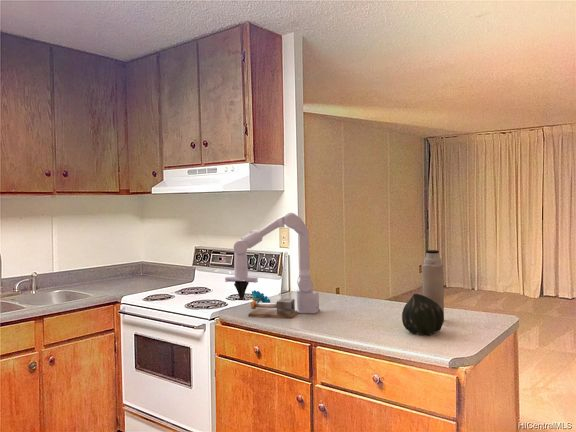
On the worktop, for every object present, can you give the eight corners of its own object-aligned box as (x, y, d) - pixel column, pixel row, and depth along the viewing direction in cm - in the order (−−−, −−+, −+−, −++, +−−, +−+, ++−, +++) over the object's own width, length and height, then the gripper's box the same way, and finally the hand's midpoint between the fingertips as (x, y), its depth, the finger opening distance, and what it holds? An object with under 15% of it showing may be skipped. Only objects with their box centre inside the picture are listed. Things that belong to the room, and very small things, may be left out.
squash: (457, 317, 171) (430, 284, 177) (440, 328, 160) (411, 292, 165) (430, 337, 178) (405, 305, 184) (412, 349, 167) (386, 314, 173)
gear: (275, 302, 222) (260, 289, 218) (268, 312, 219) (254, 299, 215) (261, 301, 230) (248, 289, 227) (255, 311, 228) (241, 299, 224)
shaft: (282, 309, 204) (282, 300, 204) (280, 311, 201) (280, 302, 201) (253, 307, 208) (253, 299, 208) (251, 309, 205) (250, 301, 204)
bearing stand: (297, 313, 205) (297, 298, 205) (292, 318, 197) (291, 302, 197) (255, 311, 211) (255, 297, 211) (248, 316, 202) (247, 301, 202)
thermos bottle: (425, 317, 194) (424, 249, 193) (446, 319, 189) (445, 249, 188) (420, 321, 187) (419, 251, 186) (441, 323, 183) (440, 251, 182)
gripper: (222, 268, 205) (222, 299, 206) (253, 269, 201) (254, 300, 202) (228, 266, 212) (229, 296, 212) (258, 266, 208) (259, 297, 208)
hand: (241, 298), depth 207 cm, fingers closed
